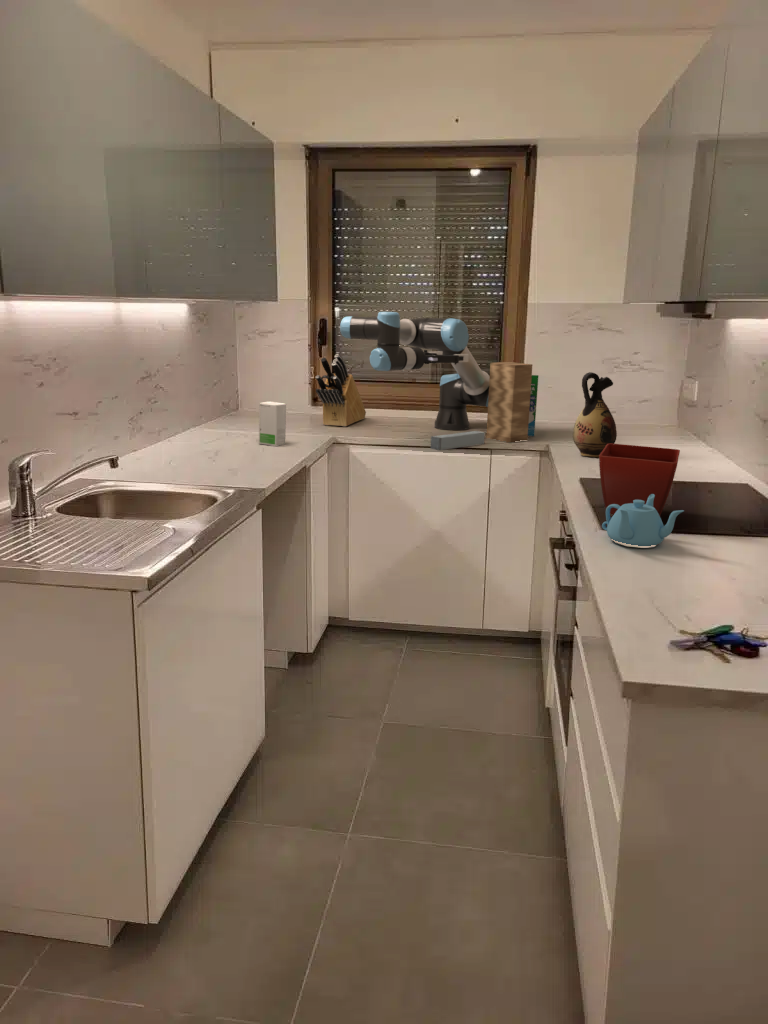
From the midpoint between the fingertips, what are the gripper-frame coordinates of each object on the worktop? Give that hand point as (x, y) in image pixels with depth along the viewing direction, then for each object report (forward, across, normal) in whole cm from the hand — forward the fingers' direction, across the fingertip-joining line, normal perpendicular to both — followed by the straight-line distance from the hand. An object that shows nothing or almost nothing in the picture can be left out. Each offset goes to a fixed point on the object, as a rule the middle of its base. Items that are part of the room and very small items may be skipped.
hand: (454, 356), depth 290 cm
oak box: (+34, -3, -34) cm, 48 cm away
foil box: (+6, -3, -34) cm, 35 cm away
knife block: (0, -70, -34) cm, 78 cm away
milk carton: (+49, -8, -34) cm, 60 cm away
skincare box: (-50, -44, -34) cm, 75 cm away
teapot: (-44, +111, -34) cm, 125 cm away
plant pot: (-22, +95, -34) cm, 103 cm away
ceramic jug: (+35, +37, -34) cm, 61 cm away
